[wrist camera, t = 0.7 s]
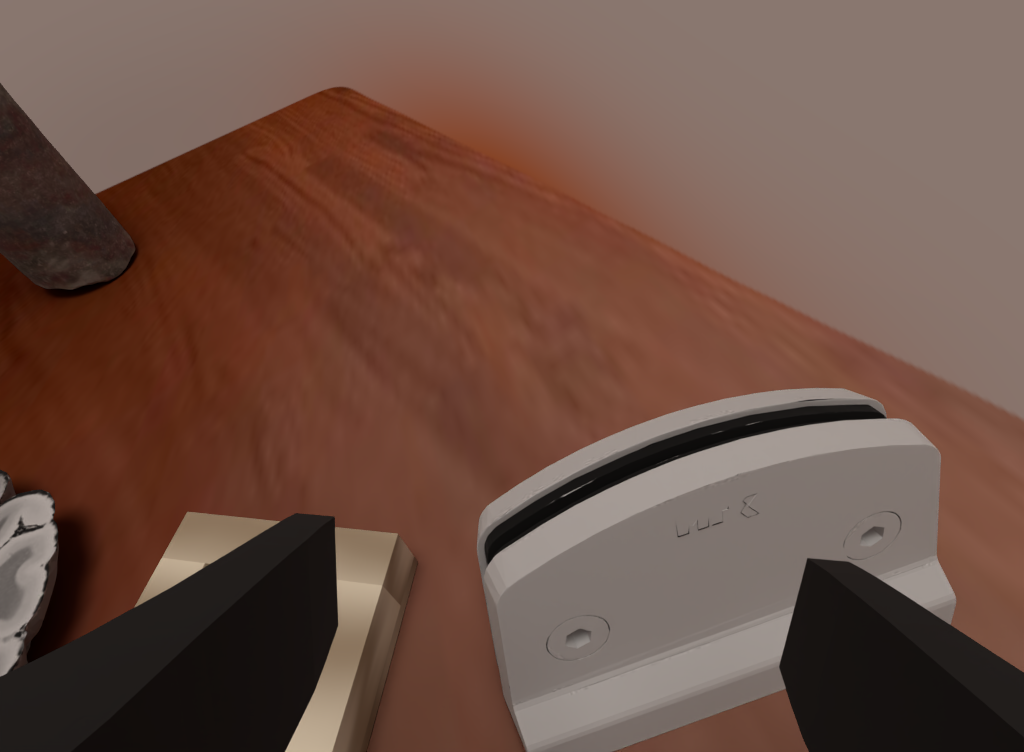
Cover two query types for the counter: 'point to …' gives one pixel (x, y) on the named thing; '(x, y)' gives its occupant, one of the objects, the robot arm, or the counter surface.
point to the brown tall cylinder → (52, 212)
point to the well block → (361, 619)
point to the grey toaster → (695, 558)
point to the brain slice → (24, 569)
